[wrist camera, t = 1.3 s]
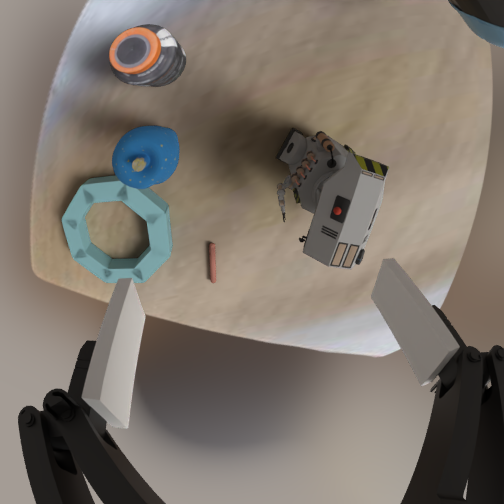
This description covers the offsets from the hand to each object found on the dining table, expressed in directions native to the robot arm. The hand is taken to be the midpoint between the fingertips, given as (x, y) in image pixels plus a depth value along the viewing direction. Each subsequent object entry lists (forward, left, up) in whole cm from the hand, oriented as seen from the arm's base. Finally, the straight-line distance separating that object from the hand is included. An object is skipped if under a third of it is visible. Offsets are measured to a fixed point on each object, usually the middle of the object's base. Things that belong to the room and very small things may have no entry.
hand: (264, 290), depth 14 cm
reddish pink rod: (+14, -3, -22) cm, 26 cm away
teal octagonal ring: (+8, -16, -22) cm, 28 cm away
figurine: (0, +9, -22) cm, 24 cm away
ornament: (-4, -8, -22) cm, 24 cm away
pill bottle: (-13, -9, -22) cm, 27 cm away
